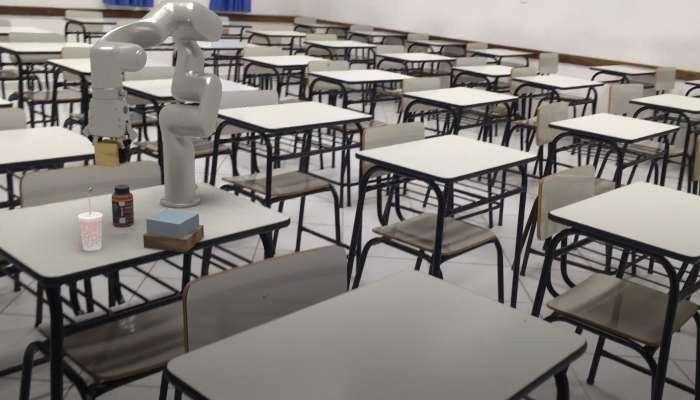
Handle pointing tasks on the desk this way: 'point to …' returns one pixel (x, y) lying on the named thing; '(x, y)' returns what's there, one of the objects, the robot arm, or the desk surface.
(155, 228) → the tower top
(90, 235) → the beverage cup
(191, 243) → the tower base
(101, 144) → the ochre cube
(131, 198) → the supplement bottle
